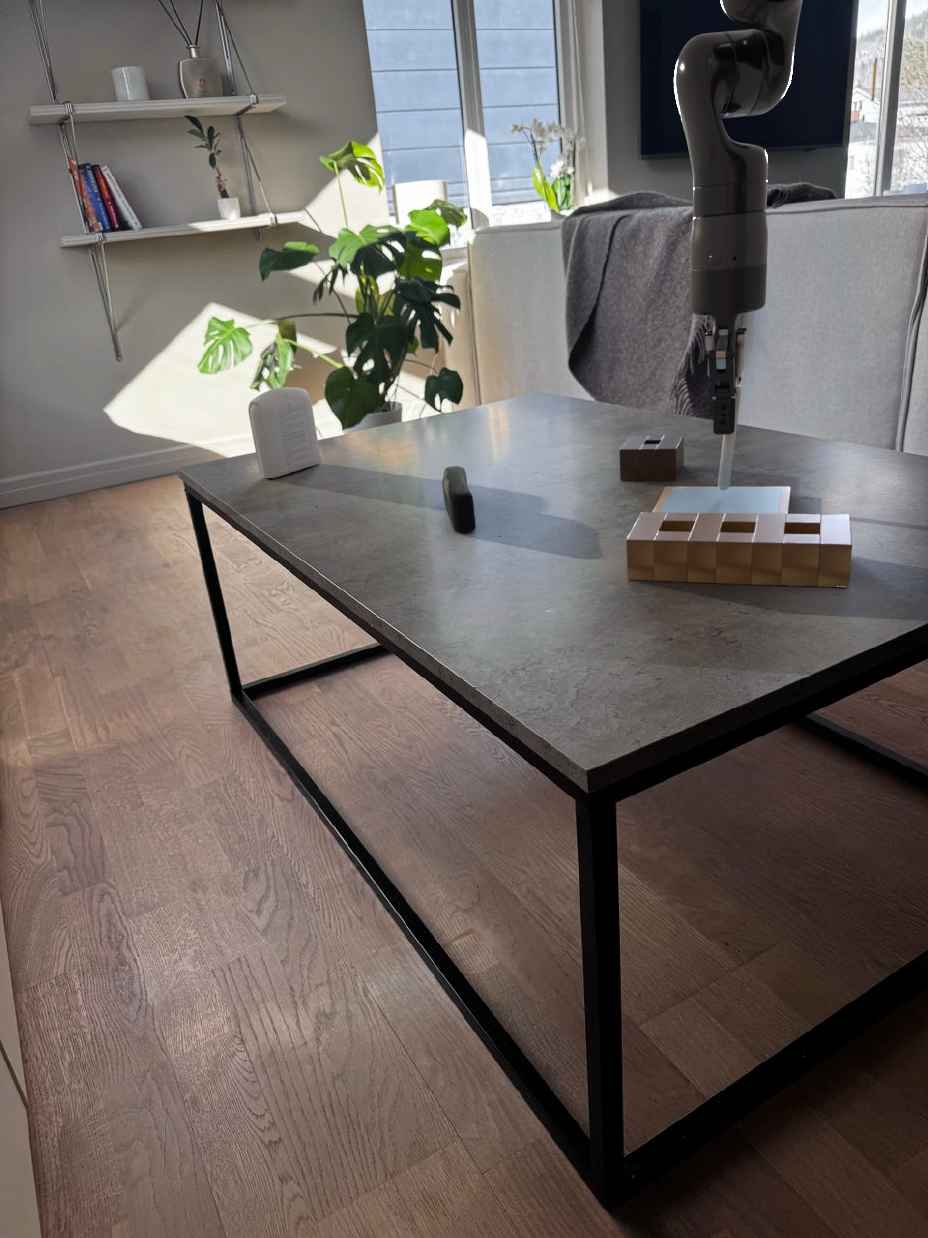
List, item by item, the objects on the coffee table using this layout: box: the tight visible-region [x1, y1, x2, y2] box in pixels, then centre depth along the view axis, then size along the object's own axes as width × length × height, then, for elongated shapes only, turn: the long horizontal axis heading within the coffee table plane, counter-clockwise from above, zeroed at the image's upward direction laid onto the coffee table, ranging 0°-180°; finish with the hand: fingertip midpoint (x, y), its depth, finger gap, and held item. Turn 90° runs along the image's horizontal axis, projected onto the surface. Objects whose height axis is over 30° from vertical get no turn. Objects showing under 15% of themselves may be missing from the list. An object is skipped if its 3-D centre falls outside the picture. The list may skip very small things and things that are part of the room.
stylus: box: [717, 385, 742, 490], centre depth 97 cm, size 1×1×12 cm
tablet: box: [652, 486, 792, 514], centre depth 95 cm, size 14×18×1 cm
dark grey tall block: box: [441, 465, 477, 533], centre depth 105 cm, size 5×3×15 cm
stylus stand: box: [618, 434, 685, 481], centre depth 113 cm, size 7×7×4 cm
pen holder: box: [625, 511, 853, 588], centre depth 82 cm, size 19×8×4 cm, turn 70°
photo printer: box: [247, 386, 322, 479], centre depth 132 cm, size 10×4×12 cm, turn 140°
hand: (724, 430), depth 97 cm, fingers closed on stylus, 1 cm apart
